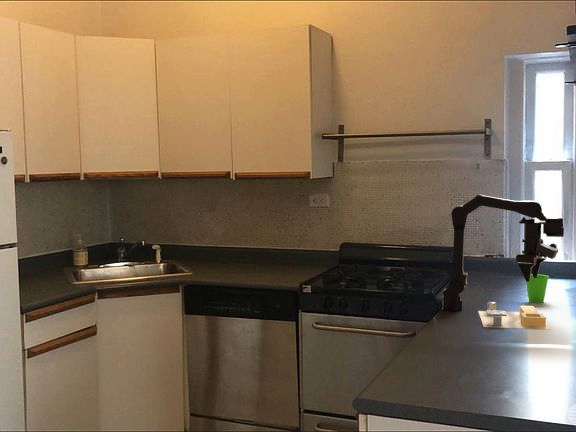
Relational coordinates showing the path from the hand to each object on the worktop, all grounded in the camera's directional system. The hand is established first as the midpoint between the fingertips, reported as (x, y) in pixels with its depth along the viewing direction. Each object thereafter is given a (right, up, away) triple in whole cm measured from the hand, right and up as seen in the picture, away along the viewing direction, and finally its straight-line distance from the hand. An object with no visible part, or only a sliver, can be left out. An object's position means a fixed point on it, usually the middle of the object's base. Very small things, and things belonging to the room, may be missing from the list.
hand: (531, 279), depth 248 cm
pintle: (-14, -12, +2) cm, 19 cm away
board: (-9, -14, -7) cm, 18 cm away
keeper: (-17, -14, -13) cm, 25 cm away
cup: (+10, -12, +23) cm, 28 cm away
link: (-3, -13, -8) cm, 16 cm away
